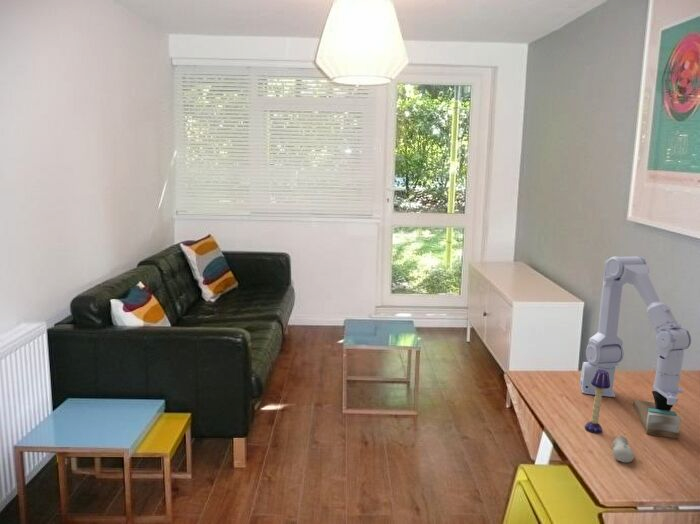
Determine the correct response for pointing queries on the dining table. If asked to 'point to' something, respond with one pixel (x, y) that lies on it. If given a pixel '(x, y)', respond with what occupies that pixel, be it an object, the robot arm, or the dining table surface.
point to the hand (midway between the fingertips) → (661, 419)
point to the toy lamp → (598, 399)
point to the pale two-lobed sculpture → (622, 450)
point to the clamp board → (656, 420)
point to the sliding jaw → (662, 411)
